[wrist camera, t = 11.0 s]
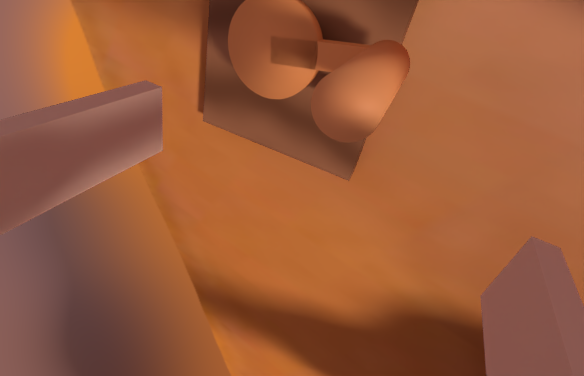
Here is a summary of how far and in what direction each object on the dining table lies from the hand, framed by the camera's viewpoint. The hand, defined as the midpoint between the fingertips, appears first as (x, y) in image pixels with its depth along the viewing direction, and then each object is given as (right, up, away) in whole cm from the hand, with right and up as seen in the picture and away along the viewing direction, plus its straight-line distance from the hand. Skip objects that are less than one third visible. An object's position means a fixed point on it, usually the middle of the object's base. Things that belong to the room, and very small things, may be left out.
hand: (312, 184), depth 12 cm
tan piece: (+1, +9, +12) cm, 15 cm away
